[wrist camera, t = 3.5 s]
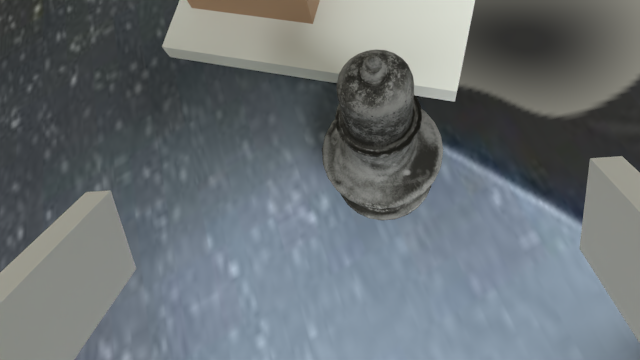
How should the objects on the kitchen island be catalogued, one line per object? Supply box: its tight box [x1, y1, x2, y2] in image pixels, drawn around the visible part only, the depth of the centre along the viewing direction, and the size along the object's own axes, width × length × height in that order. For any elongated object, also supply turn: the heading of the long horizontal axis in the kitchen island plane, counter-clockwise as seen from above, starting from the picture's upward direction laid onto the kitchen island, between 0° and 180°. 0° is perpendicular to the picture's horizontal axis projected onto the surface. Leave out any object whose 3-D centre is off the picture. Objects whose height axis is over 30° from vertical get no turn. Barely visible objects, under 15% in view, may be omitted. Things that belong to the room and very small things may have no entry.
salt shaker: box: [322, 49, 443, 220], centre depth 23 cm, size 6×6×12 cm
